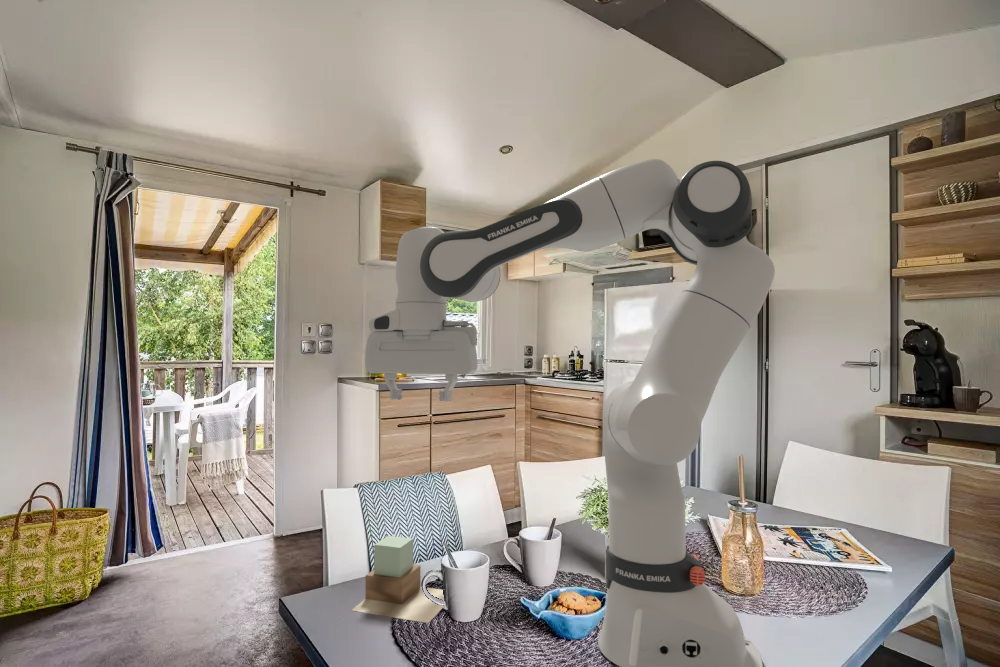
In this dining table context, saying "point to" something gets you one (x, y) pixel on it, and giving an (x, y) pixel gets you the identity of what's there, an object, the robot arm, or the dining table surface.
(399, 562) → the sage cube
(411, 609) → the birch board
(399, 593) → the walnut base
